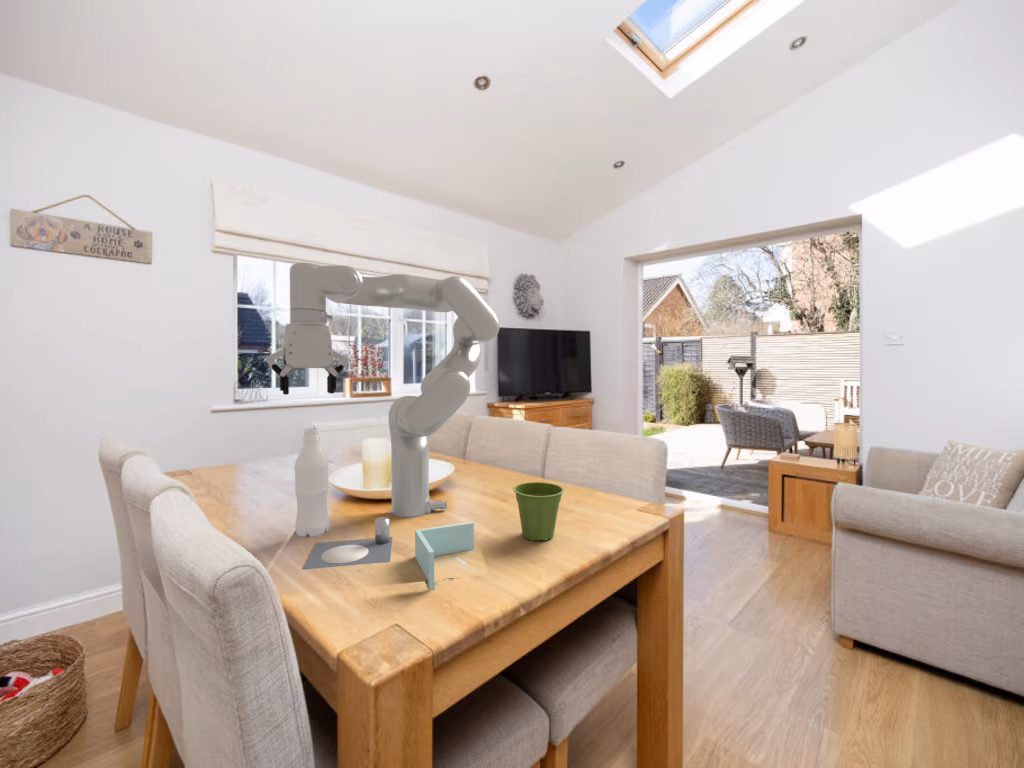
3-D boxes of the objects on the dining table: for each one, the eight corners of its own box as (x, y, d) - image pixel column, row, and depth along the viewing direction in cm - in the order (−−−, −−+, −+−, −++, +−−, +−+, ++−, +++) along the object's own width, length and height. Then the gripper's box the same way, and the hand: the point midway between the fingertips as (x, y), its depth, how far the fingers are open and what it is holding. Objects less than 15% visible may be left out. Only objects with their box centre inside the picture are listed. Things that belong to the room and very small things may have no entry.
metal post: (389, 538, 101) (389, 516, 101) (389, 543, 99) (389, 520, 98) (375, 539, 101) (375, 517, 101) (374, 545, 98) (374, 521, 98)
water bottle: (336, 535, 107) (334, 428, 106) (308, 546, 101) (306, 432, 100) (317, 529, 111) (315, 426, 110) (289, 539, 105) (286, 430, 104)
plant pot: (505, 541, 104) (505, 492, 104) (523, 524, 115) (523, 480, 115) (555, 549, 100) (556, 498, 99) (569, 531, 111) (569, 484, 110)
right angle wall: (429, 594, 81) (429, 552, 81) (415, 566, 92) (414, 529, 92) (492, 581, 86) (492, 541, 86) (472, 556, 97) (472, 521, 97)
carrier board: (392, 543, 103) (392, 536, 103) (390, 568, 90) (390, 560, 90) (315, 549, 99) (315, 542, 99) (302, 576, 86) (301, 568, 86)
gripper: (342, 322, 114) (342, 391, 114) (263, 317, 104) (264, 393, 104) (351, 320, 107) (351, 393, 108) (268, 314, 97) (269, 395, 98)
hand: (308, 393), depth 106 cm, fingers open, 9 cm apart
